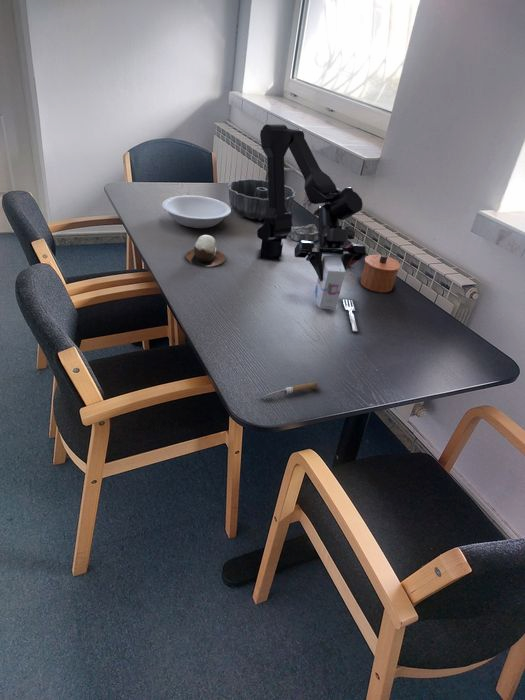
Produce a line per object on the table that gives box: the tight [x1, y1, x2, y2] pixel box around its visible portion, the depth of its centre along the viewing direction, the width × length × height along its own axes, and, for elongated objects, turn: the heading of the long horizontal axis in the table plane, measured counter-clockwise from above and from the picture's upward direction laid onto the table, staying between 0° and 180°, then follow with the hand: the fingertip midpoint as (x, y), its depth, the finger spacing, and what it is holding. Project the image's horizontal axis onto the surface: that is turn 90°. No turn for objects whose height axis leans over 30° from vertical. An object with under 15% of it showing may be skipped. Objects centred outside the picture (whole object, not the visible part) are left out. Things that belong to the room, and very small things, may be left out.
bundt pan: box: [226, 178, 297, 222], centre depth 188 cm, size 26×26×10 cm
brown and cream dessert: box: [185, 234, 226, 267], centre depth 150 cm, size 12×10×10 cm
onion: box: [344, 242, 357, 267], centre depth 157 cm, size 6×6×8 cm
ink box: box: [314, 255, 346, 310], centre depth 131 cm, size 9×5×12 cm, turn 4°
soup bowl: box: [161, 194, 232, 229], centre depth 172 cm, size 24×24×7 cm
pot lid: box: [364, 254, 402, 271], centre depth 145 cm, size 11×11×3 cm
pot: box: [359, 261, 399, 293], centre depth 148 cm, size 10×10×7 cm
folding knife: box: [260, 381, 319, 399], centre depth 100 cm, size 14×2×2 cm, turn 115°
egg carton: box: [288, 223, 319, 242], centre depth 174 cm, size 11×8×4 cm
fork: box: [342, 299, 359, 334], centre depth 132 cm, size 17×3×1 cm, turn 178°
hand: (331, 281), depth 129 cm, fingers closed on ink box, 5 cm apart
